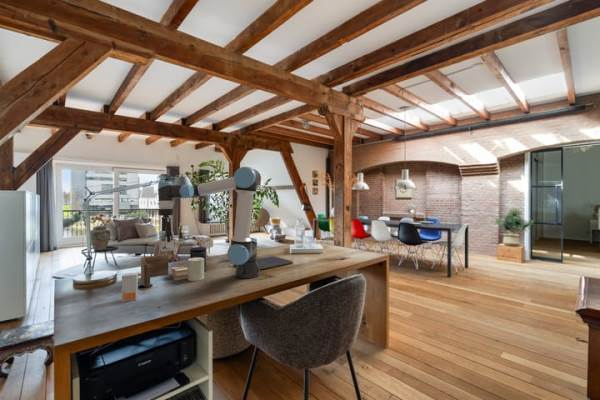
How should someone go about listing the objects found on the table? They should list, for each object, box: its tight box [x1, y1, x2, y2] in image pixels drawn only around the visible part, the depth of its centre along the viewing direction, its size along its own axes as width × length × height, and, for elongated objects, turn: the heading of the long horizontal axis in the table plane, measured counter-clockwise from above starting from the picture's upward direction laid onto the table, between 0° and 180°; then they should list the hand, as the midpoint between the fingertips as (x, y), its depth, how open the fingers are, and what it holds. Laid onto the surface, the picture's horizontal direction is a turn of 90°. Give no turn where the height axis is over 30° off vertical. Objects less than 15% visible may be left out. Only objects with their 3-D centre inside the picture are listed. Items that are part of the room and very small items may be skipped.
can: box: [187, 257, 205, 282], centre depth 165 cm, size 9×9×12 cm
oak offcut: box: [170, 272, 188, 281], centre depth 168 cm, size 10×8×3 cm
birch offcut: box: [170, 265, 188, 276], centre depth 168 cm, size 9×7×3 cm
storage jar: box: [189, 246, 207, 273], centre depth 180 cm, size 10×10×15 cm
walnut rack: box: [140, 254, 170, 288], centre depth 162 cm, size 22×15×12 cm
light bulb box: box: [158, 230, 175, 253], centre depth 163 cm, size 11×7×11 cm, turn 33°
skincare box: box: [121, 272, 139, 303], centre depth 131 cm, size 6×4×12 cm
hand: (166, 246), depth 163 cm, fingers closed on light bulb box, 11 cm apart
